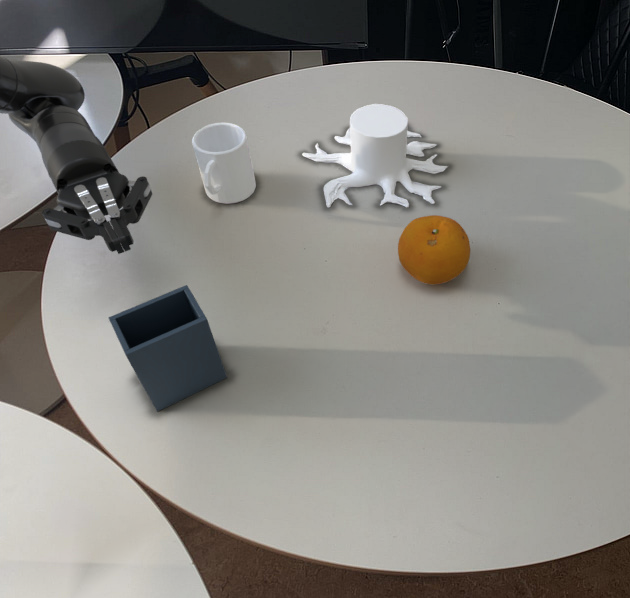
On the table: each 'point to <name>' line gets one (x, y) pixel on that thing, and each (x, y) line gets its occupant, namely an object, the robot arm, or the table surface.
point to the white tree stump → (378, 156)
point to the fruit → (434, 249)
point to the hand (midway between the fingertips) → (122, 246)
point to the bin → (169, 347)
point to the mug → (224, 162)
